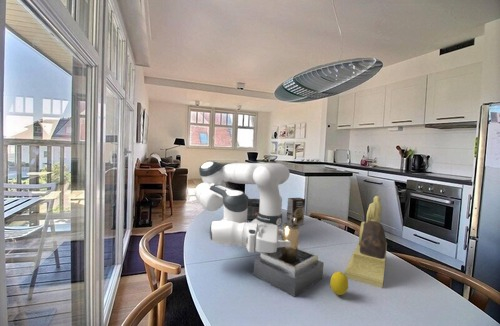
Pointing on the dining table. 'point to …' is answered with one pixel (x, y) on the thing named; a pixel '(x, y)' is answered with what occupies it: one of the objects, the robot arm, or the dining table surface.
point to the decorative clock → (369, 250)
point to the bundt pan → (252, 208)
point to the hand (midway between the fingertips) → (290, 238)
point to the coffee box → (295, 210)
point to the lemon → (339, 283)
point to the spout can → (291, 234)
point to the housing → (289, 271)
